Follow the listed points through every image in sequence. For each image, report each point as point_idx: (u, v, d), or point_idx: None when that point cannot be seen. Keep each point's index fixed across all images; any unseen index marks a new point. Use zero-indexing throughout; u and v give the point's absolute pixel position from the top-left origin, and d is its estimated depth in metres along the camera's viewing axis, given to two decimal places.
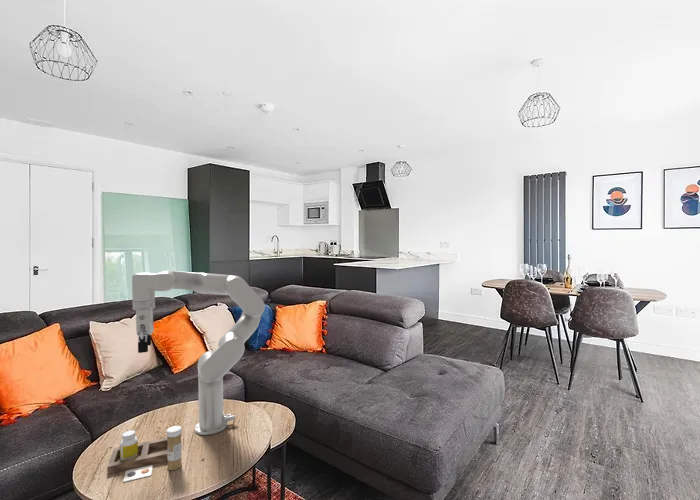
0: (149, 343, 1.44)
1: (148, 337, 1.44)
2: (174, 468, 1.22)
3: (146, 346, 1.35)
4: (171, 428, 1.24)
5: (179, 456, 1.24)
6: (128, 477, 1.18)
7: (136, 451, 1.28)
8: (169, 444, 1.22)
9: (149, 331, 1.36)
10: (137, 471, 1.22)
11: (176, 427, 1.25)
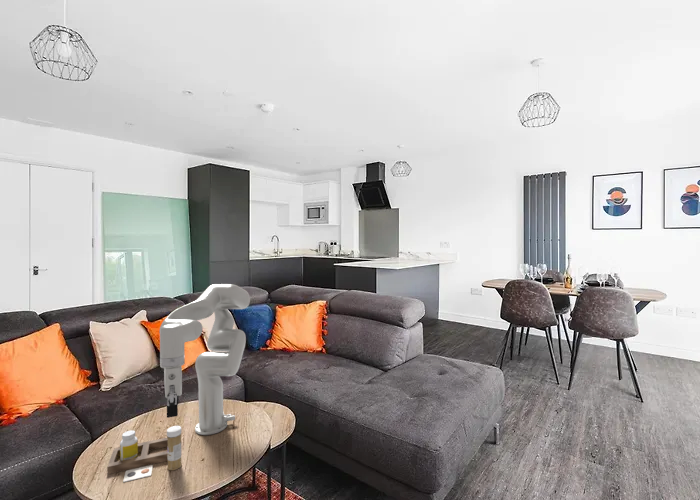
0: (177, 402, 1.28)
1: None
2: (174, 468, 1.22)
3: (176, 409, 1.19)
4: (171, 428, 1.24)
5: (179, 456, 1.24)
6: (128, 477, 1.18)
7: (136, 451, 1.28)
8: (169, 444, 1.22)
9: (179, 392, 1.20)
10: (137, 471, 1.22)
11: (176, 427, 1.25)
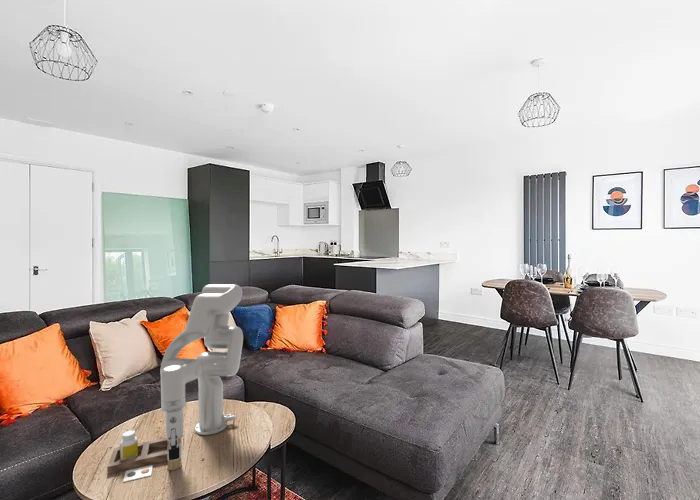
0: None
1: None
2: (174, 468, 1.22)
3: (177, 452, 1.22)
4: None
5: (179, 456, 1.24)
6: (128, 477, 1.18)
7: (136, 451, 1.28)
8: None
9: (180, 435, 1.20)
10: (137, 471, 1.22)
11: None
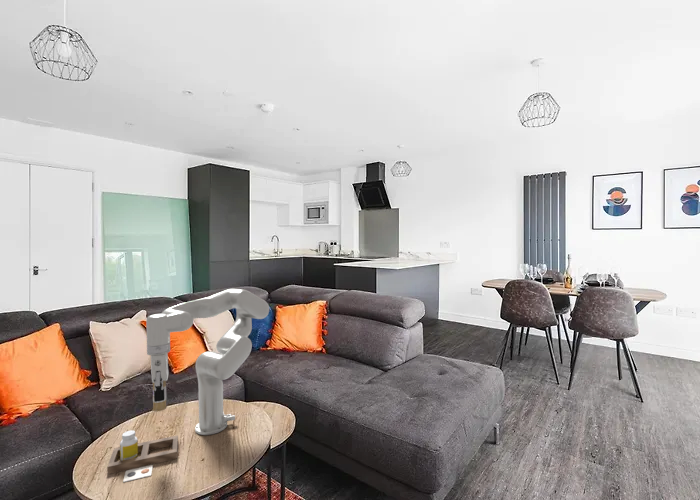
0: None
1: None
2: (159, 409, 1.30)
3: (162, 394, 1.30)
4: None
5: (164, 399, 1.31)
6: (128, 477, 1.18)
7: (136, 451, 1.28)
8: None
9: (165, 377, 1.28)
10: (137, 471, 1.22)
11: None
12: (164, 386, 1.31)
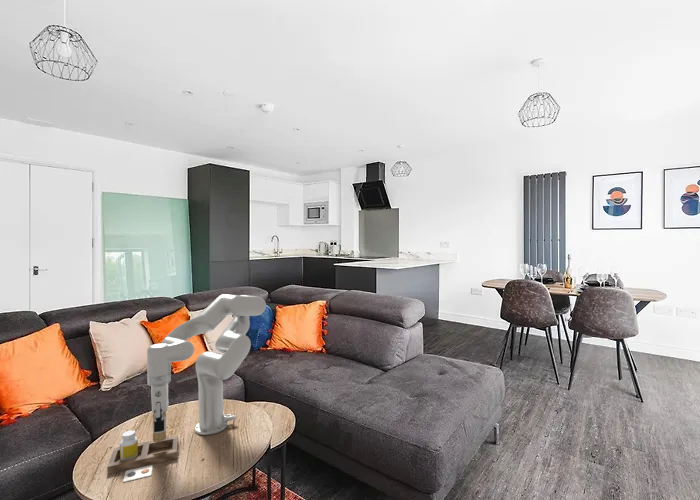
0: None
1: None
2: (159, 440, 1.30)
3: (162, 425, 1.30)
4: None
5: (164, 429, 1.31)
6: (128, 477, 1.18)
7: (136, 451, 1.28)
8: (154, 417, 1.30)
9: (165, 408, 1.28)
10: (137, 471, 1.22)
11: None
12: (164, 416, 1.31)
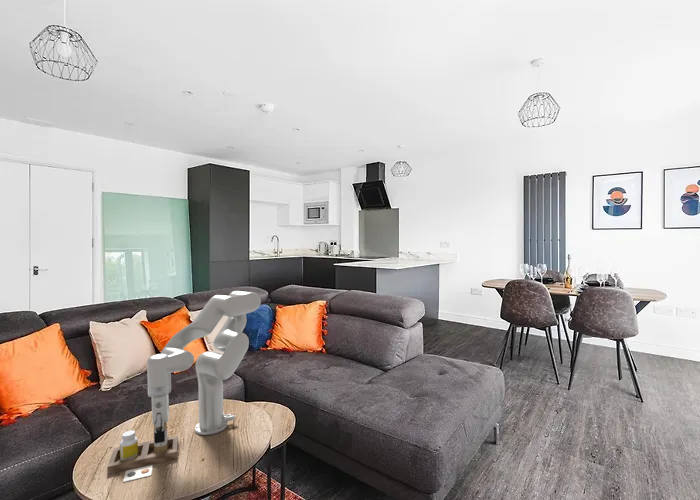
0: None
1: None
2: None
3: (163, 436, 1.29)
4: None
5: (165, 442, 1.32)
6: (128, 477, 1.18)
7: (136, 451, 1.28)
8: None
9: (166, 419, 1.28)
10: (137, 471, 1.22)
11: None
12: (165, 430, 1.32)
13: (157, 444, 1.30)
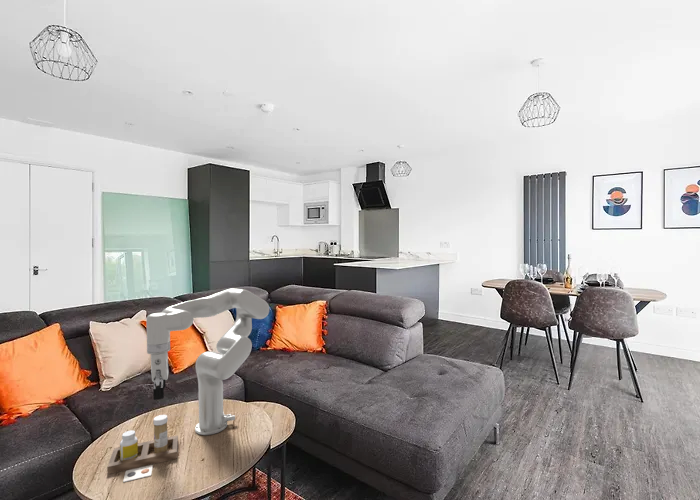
0: (164, 386, 1.36)
1: (163, 380, 1.36)
2: None
3: (162, 392, 1.28)
4: (158, 417, 1.32)
5: (165, 443, 1.32)
6: (128, 477, 1.18)
7: (136, 451, 1.28)
8: (155, 432, 1.30)
9: (165, 376, 1.28)
10: (137, 471, 1.22)
11: (162, 416, 1.33)
12: (165, 430, 1.32)
13: (157, 445, 1.30)
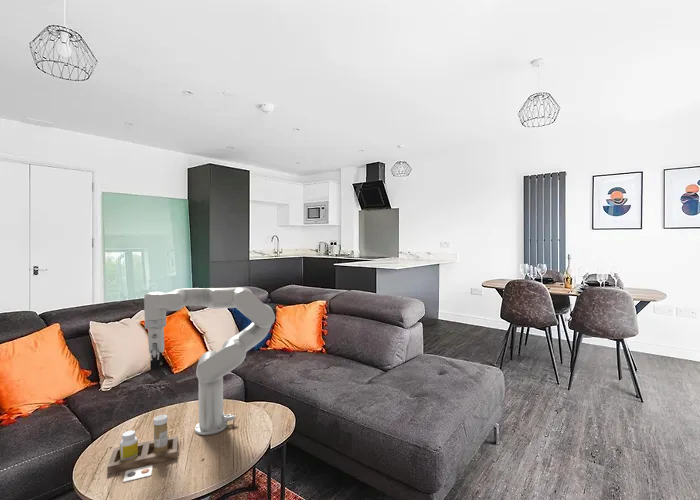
0: (160, 360, 1.48)
1: (159, 354, 1.48)
2: None
3: (158, 364, 1.39)
4: (158, 417, 1.32)
5: (165, 443, 1.32)
6: (128, 477, 1.18)
7: (136, 451, 1.28)
8: (155, 432, 1.30)
9: (161, 349, 1.40)
10: (137, 471, 1.22)
11: (162, 416, 1.33)
12: (165, 430, 1.32)
13: (157, 445, 1.30)
